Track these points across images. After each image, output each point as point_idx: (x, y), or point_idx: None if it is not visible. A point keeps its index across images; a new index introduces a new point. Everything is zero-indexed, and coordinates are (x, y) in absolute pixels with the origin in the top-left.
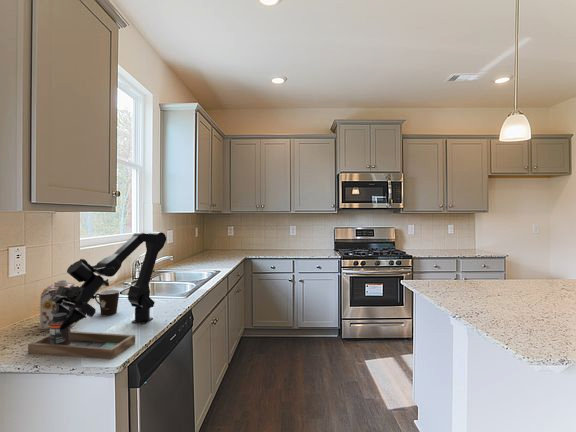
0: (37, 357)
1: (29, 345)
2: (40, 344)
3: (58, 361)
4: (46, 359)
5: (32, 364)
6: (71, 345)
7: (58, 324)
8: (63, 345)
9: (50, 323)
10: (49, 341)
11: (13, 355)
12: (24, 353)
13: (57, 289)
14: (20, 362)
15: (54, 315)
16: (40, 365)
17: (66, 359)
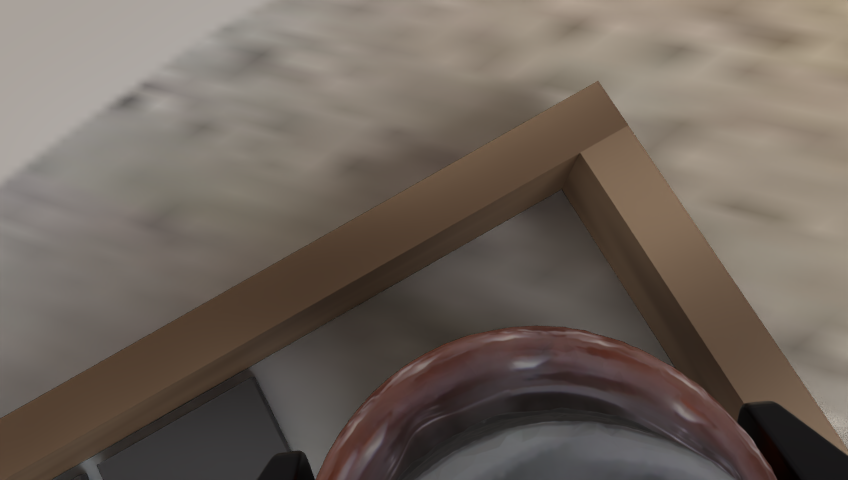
0: (344, 161)
1: (575, 100)
2: (440, 188)
3: (35, 273)
4: (201, 207)
5: (186, 74)
6: (19, 467)
7: (328, 458)
8: (119, 389)
9: (563, 335)
10: None
11: (628, 8)
12: None
13: None
14: (344, 10)
15: (595, 471)
16: (91, 119)
17: (13, 352)
